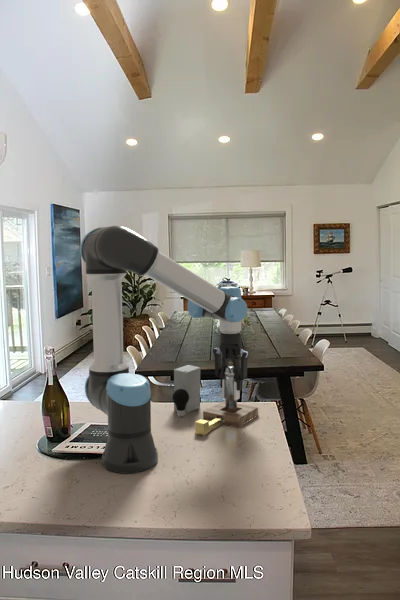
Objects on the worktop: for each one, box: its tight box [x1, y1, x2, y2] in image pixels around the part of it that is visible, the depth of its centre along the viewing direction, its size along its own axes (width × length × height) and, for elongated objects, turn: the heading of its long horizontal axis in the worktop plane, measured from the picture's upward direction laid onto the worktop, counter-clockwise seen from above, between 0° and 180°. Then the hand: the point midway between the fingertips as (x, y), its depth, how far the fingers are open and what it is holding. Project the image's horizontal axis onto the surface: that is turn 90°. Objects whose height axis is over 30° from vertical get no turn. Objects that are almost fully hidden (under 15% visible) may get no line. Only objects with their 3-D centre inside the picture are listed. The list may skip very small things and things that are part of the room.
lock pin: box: [194, 418, 223, 437], centre depth 155 cm, size 12×3×4 cm, turn 146°
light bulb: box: [171, 389, 189, 418], centre depth 167 cm, size 6×6×10 cm
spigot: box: [224, 365, 238, 409], centre depth 165 cm, size 5×5×14 cm
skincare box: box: [173, 364, 201, 414], centre depth 175 cm, size 8×7×16 cm
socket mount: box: [202, 400, 259, 428], centre depth 166 cm, size 14×14×3 cm
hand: (231, 397), depth 166 cm, fingers closed on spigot, 4 cm apart
